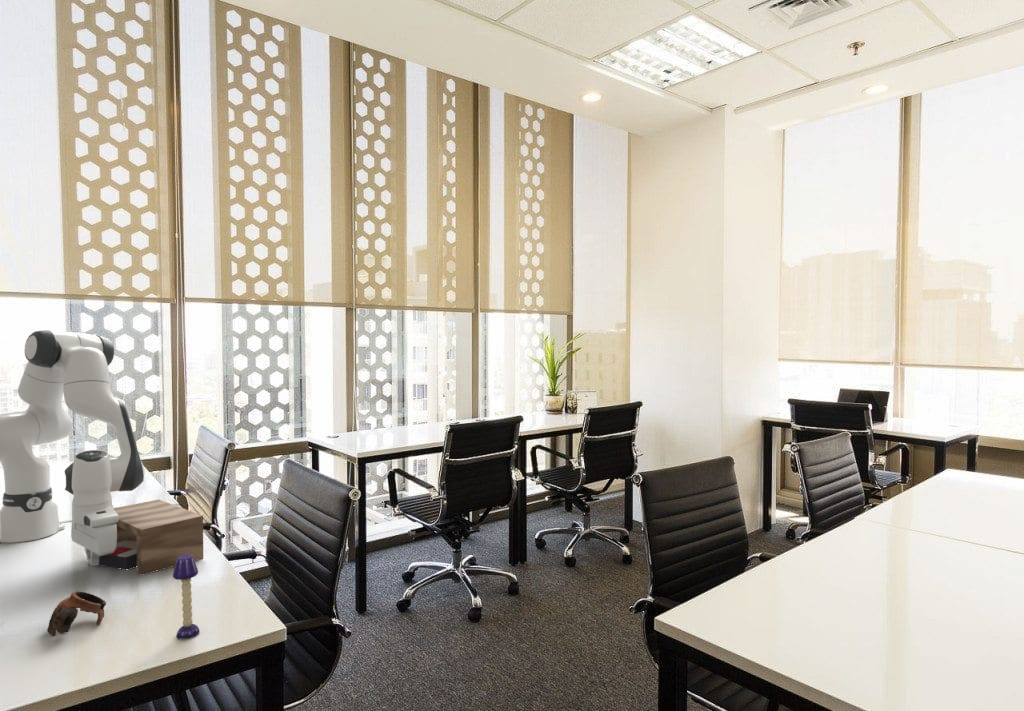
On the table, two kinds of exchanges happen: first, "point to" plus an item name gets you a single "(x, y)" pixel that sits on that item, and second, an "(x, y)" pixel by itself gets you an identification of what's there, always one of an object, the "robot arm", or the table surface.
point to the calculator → (121, 556)
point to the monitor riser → (160, 533)
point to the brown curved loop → (74, 611)
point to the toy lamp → (186, 594)
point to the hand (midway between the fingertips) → (93, 564)
